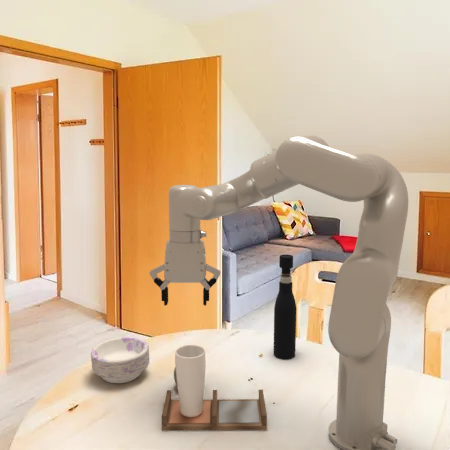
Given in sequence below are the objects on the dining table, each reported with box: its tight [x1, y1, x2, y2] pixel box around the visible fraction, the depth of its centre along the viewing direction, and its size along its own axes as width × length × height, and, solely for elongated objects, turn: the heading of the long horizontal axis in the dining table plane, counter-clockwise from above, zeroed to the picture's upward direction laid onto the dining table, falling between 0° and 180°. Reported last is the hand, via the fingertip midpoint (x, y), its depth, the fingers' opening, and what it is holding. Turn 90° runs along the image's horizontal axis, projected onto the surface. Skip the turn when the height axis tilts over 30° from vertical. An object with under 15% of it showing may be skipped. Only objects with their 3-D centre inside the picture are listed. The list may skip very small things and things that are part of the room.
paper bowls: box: [90, 336, 150, 384], centre depth 131 cm, size 15×15×8 cm
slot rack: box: [161, 389, 268, 432], centre depth 112 cm, size 23×11×4 cm, turn 90°
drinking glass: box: [174, 344, 207, 417], centre depth 110 cm, size 7×7×15 cm
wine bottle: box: [273, 254, 297, 360], centre depth 141 cm, size 6×6×30 cm
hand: (185, 303), depth 121 cm, fingers open, 9 cm apart
